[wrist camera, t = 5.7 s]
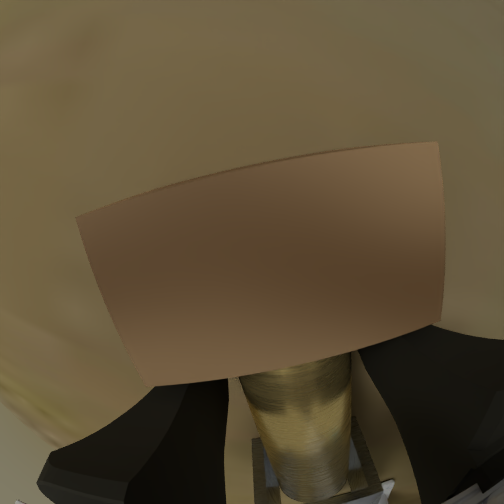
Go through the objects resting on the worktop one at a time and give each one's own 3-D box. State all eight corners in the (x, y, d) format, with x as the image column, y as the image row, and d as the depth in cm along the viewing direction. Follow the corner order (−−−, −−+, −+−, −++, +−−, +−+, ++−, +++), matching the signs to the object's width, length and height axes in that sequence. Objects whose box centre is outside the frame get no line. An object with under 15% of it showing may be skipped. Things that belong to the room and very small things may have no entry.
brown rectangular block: (364, 254, 10) (440, 320, 6) (182, 294, 11) (145, 387, 6) (349, 148, 9) (437, 141, 4) (152, 189, 10) (75, 217, 5)
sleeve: (352, 463, 15) (370, 521, 10) (270, 481, 15) (275, 541, 10) (355, 416, 13) (383, 490, 8) (251, 439, 13) (255, 519, 8)
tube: (339, 440, 13) (355, 492, 9) (275, 454, 13) (281, 508, 9) (317, 195, 9) (361, 216, 6) (204, 219, 9) (182, 254, 6)
